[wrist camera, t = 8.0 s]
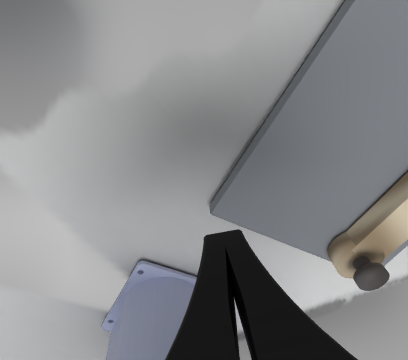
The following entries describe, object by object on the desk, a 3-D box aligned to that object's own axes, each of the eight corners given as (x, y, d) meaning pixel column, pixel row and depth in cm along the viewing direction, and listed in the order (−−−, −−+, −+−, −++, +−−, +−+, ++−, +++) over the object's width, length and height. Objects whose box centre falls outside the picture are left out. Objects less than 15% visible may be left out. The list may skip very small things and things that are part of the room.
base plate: (365, 268, 27) (371, 277, 26) (209, 205, 22) (210, 214, 21) (534, 113, 20) (550, 118, 19) (363, -28, 15) (375, -30, 14)
